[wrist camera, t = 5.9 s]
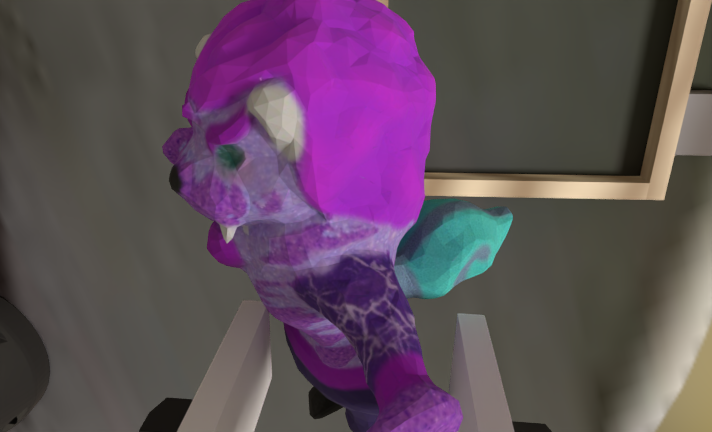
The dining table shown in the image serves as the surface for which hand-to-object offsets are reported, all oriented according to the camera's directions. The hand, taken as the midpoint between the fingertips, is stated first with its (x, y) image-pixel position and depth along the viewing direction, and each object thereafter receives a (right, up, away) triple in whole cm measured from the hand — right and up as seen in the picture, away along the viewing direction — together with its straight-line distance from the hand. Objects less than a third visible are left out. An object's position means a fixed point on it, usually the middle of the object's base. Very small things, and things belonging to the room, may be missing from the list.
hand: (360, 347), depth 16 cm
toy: (0, +4, +3) cm, 4 cm away
